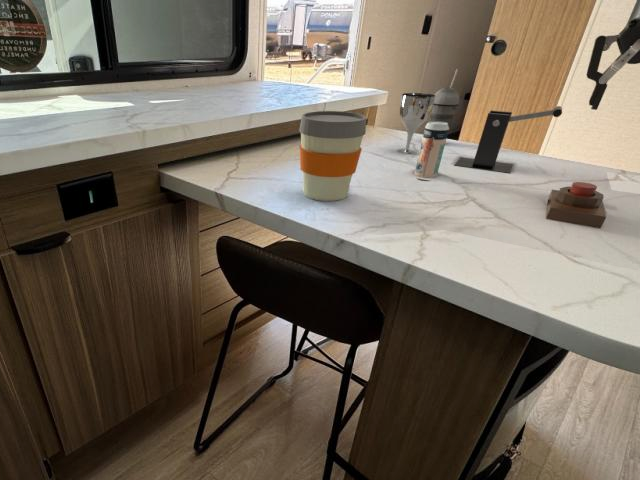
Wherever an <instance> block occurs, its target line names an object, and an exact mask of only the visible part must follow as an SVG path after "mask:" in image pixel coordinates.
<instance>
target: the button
mask: <svg viewBox="0 0 640 480" xmlns="http://www.w3.org/2000/svg"><path fill="white" fill-rule="evenodd" d="M570 187H571V188H570V191H569V192H570V193H572V194H576V195H581V196H593V195H594V193H595V191H597V188H598V186H597V185H596V184H594V183H590V182H585V181H574V182H573V183H572V184H571V186H570Z"/></svg>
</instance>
